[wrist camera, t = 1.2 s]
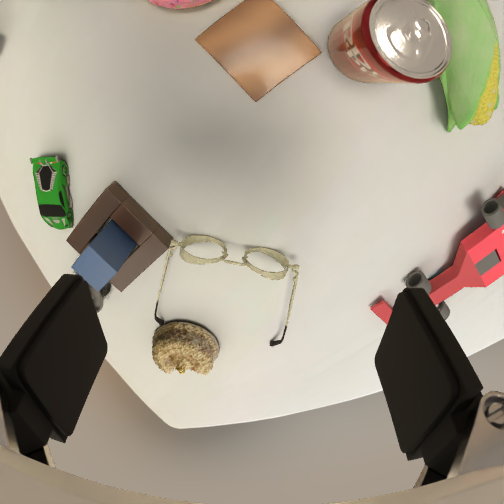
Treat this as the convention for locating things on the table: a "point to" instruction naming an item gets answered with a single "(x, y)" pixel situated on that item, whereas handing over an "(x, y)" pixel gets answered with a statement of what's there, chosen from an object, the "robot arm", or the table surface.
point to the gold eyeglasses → (196, 260)
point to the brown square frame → (132, 222)
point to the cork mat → (258, 45)
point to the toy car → (53, 191)
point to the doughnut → (179, 3)
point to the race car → (464, 262)
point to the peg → (104, 256)
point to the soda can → (391, 42)
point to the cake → (184, 348)
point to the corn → (470, 62)
